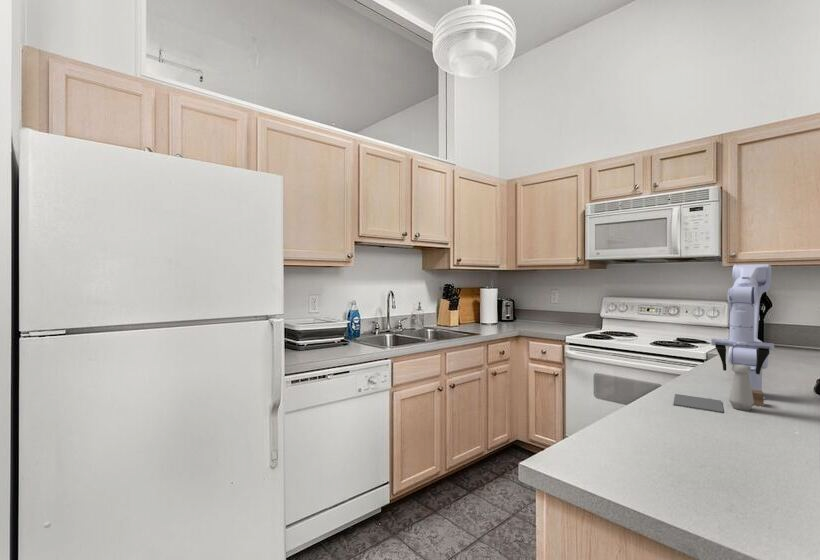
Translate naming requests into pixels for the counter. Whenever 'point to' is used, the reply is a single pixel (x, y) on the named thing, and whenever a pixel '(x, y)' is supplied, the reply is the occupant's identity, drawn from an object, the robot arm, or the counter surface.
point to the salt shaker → (741, 388)
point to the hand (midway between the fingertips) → (740, 371)
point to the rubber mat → (698, 403)
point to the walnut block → (758, 398)
